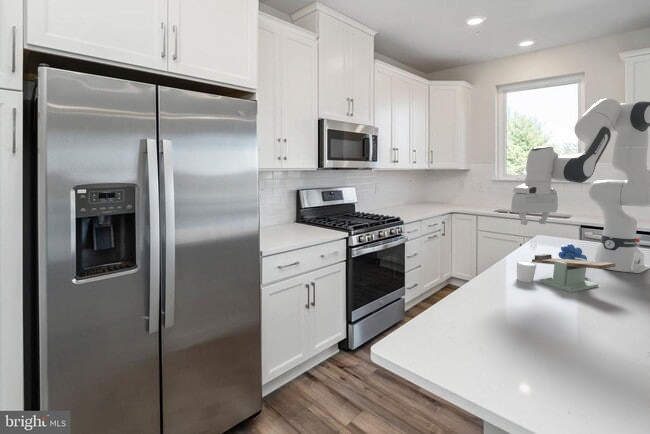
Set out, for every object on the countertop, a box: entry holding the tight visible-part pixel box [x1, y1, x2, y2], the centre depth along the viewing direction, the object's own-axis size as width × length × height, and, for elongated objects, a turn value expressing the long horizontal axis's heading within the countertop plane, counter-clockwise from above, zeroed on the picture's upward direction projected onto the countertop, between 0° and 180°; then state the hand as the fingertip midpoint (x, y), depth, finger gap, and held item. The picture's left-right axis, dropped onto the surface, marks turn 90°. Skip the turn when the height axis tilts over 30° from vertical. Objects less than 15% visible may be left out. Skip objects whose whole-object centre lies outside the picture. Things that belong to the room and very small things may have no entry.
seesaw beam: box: [531, 253, 616, 270], centre depth 136 cm, size 26×10×4 cm, turn 22°
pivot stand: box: [539, 258, 599, 293], centre depth 137 cm, size 16×12×10 cm
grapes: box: [557, 243, 588, 261], centre depth 152 cm, size 12×7×12 cm, turn 25°
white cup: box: [516, 260, 537, 283], centre depth 142 cm, size 7×7×7 cm
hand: (533, 224), depth 139 cm, fingers open, 8 cm apart
